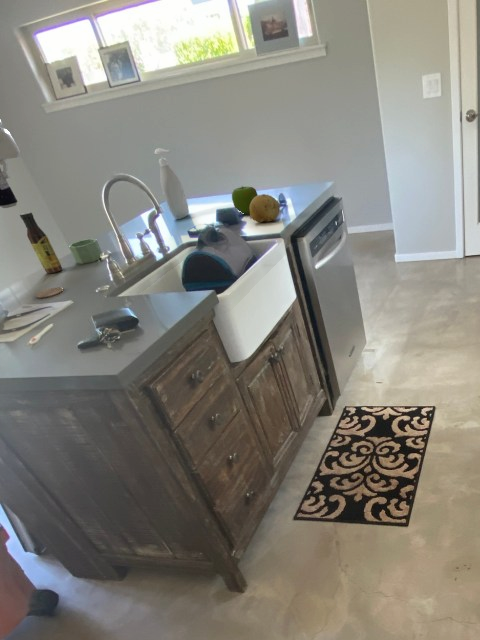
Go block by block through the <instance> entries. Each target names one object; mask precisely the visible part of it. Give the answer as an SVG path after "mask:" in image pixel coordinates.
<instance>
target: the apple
mask: <svg viewBox="0 0 480 640" xmlns="http://www.w3.org/2000/svg"><path fill="white" fill-rule="evenodd" d="M258 195H259V194H258V191H257V190H256V188H255V187H254V186H243V185H241V186H240V187H239V186H238V187H236V188H234V189H233V190H232V192H231V200H232V204H233V206H234V208H237V209H238V210H239V211H241V212H242V213H244V214H242V215H243V216H244V215H245V216H246V215H250V204H251V201H252V200H253V199H254V198H255V197H256V196H258Z"/></svg>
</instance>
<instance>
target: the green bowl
mask: <svg viewBox="0 0 480 640" xmlns="http://www.w3.org/2000/svg"><path fill="white" fill-rule="evenodd" d="M68 248H69V250H70V252H71V253H72V256H73V258H74V260H75V262H76V264H80V265H81V264H83V265H84V264H88V263H94V262H96V261H99V260H100V259H99V258H100V254H101V253H103V251H102V249H101V246H100V244H99V242H98V240H97V239H96V238H87V239H83V240H78V241H75V242H73V243H71V244H70V245H69V246H68Z"/></svg>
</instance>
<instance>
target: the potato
mask: <svg viewBox="0 0 480 640" xmlns="http://www.w3.org/2000/svg"><path fill="white" fill-rule="evenodd" d="M257 195H258V196H256V197H255V198H254V199H253V200H252V201H251V204H250V214H249V215H250V217H251V219H252V220H253V221H254V222H256V223H262V222H274V221H276V220H277V219H278V218H279V216H280V212H281V207H280V206H281V205H280V203H279V201H278V200H277V199H275V197H273V196H272V195H269V194H265V193H263V194H257Z"/></svg>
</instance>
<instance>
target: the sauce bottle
mask: <svg viewBox="0 0 480 640" xmlns="http://www.w3.org/2000/svg"><path fill="white" fill-rule="evenodd" d="M19 217H20V219H21V220H22V221H23V223H24V225H25V228H26V234H27V238H28V241H29V243H30V245H31V247H32V249H33V251H34V253H35V255H36V257H37V259H38V260H39V262H40V265H41V266H42V268H43V269H44V271H45V273H46V274H48V275H49V274H55V273H58V272H61V271H62V270H63V267H62V263H61V261H60V259H59V258H58V255H57V253H56V251H55V250H54V248H53V245H52V244H51V242H50V238H49V237H48V235H47V234H46V233H45V232H44V231H43V229H42V228H41V227H39V225H38V223H37V222H36V219H35V217H34V214H33V212H31V211H27V212H23V213H20V214H19Z"/></svg>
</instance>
